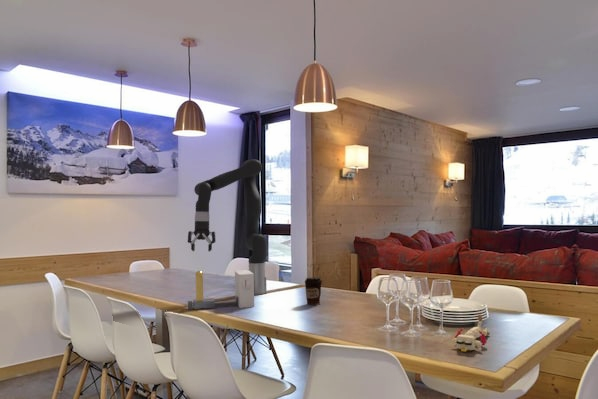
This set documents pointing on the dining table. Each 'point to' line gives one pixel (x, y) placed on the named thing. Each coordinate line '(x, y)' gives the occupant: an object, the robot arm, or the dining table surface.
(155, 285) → the dining table surface
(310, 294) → the coffee cup
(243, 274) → the cabinet
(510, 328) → the dining table surface
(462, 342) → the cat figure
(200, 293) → the gold sphere topped award
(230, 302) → the rail
